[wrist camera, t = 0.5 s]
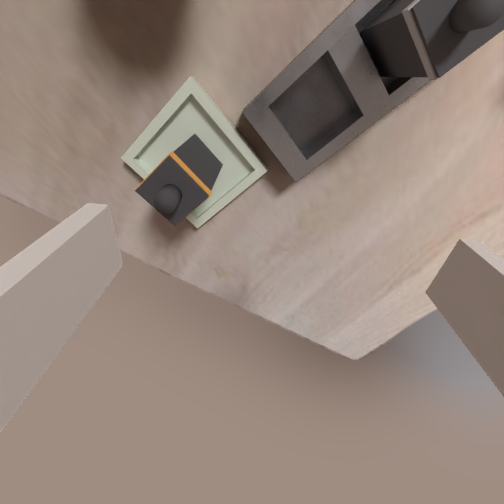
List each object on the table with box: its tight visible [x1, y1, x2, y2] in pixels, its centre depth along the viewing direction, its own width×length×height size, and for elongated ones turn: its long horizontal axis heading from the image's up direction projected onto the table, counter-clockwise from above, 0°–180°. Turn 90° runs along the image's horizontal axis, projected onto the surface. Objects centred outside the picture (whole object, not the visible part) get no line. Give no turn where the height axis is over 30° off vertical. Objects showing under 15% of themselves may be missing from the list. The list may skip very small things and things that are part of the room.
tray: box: [121, 76, 267, 229], centre depth 30 cm, size 12×12×2 cm
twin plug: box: [361, 0, 504, 80], centre depth 19 cm, size 5×5×12 cm
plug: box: [135, 134, 223, 226], centre depth 26 cm, size 5×5×12 cm
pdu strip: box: [242, 0, 430, 182], centre depth 24 cm, size 9×20×4 cm, turn 130°
